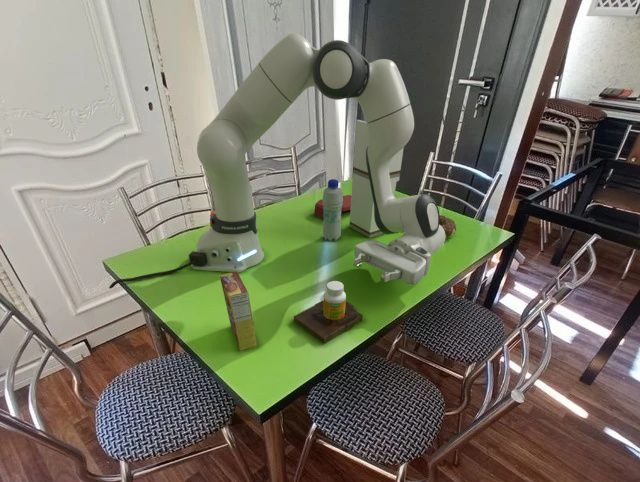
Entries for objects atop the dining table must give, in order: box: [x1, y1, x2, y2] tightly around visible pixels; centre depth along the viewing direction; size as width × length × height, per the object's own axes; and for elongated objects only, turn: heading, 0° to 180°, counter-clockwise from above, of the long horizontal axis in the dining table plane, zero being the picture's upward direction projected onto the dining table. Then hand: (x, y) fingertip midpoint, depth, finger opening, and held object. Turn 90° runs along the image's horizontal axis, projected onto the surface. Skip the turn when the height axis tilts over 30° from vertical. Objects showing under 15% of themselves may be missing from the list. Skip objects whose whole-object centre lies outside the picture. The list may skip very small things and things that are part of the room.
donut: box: [439, 214, 457, 240], centre depth 129 cm, size 14×14×5 cm
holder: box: [293, 300, 364, 345], centre depth 90 cm, size 14×11×2 cm
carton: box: [313, 194, 352, 220], centre depth 147 cm, size 12×5×25 cm
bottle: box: [321, 178, 344, 242], centre depth 121 cm, size 7×7×20 cm
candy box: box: [219, 272, 258, 352], centre depth 80 cm, size 9×4×15 cm, turn 24°
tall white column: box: [349, 119, 405, 239], centre depth 122 cm, size 11×11×35 cm
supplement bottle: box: [323, 280, 347, 320], centre depth 88 cm, size 5×5×10 cm
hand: (368, 271), depth 92 cm, fingers open, 8 cm apart
